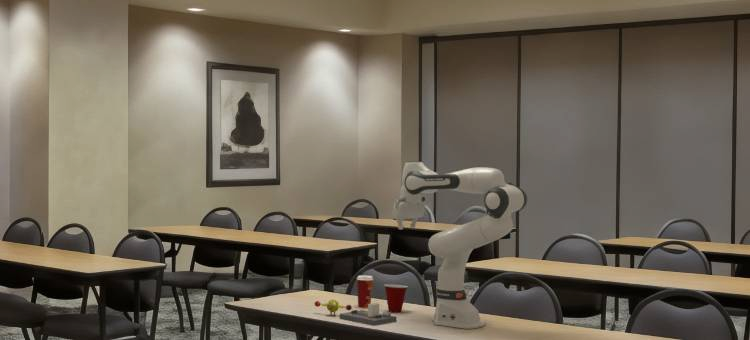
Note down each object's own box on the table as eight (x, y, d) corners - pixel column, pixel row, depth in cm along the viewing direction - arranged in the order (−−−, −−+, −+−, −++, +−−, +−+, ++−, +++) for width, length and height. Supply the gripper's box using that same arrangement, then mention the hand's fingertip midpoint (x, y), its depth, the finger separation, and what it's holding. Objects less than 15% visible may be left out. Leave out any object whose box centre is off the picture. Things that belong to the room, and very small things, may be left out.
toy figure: (311, 314, 412) (311, 298, 412) (317, 312, 417) (318, 297, 417) (347, 318, 404) (348, 302, 404) (353, 316, 409) (354, 301, 409)
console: (396, 321, 401) (396, 312, 401) (374, 325, 391) (374, 316, 390) (361, 314, 414) (361, 306, 414) (339, 318, 404) (339, 310, 404)
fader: (379, 315, 400) (379, 303, 400) (371, 316, 396) (371, 304, 396) (375, 314, 402) (375, 302, 401) (367, 316, 398) (368, 304, 398)
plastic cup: (411, 311, 427) (412, 284, 426) (399, 314, 418) (399, 287, 417) (391, 308, 433) (392, 282, 432) (378, 311, 424) (379, 284, 423)
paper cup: (372, 308, 431) (373, 277, 431) (355, 307, 431) (356, 277, 431) (372, 305, 439) (373, 275, 438) (356, 305, 439) (357, 274, 439)
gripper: (402, 199, 405) (399, 231, 406) (428, 197, 422) (424, 228, 423) (390, 197, 409) (387, 228, 410) (416, 195, 425) (413, 225, 427)
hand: (406, 228), depth 417 cm, fingers open, 8 cm apart
